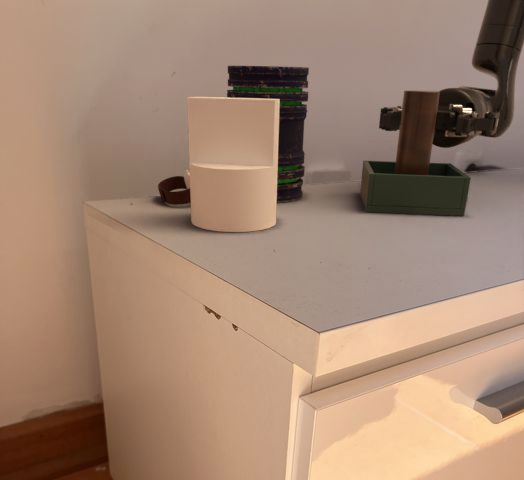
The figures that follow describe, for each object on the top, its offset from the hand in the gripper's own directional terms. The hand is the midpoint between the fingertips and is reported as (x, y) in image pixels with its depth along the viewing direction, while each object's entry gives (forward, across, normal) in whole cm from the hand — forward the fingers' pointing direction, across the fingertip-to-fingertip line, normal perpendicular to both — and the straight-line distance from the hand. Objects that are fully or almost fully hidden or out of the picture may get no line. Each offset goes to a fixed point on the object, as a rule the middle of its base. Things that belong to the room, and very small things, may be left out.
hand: (422, 123), depth 67 cm
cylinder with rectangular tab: (+21, -13, +9) cm, 27 cm away
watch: (+17, -24, +9) cm, 31 cm away
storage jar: (+7, -17, +9) cm, 21 cm away
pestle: (+1, 0, +8) cm, 9 cm away
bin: (+1, 0, +9) cm, 9 cm away
